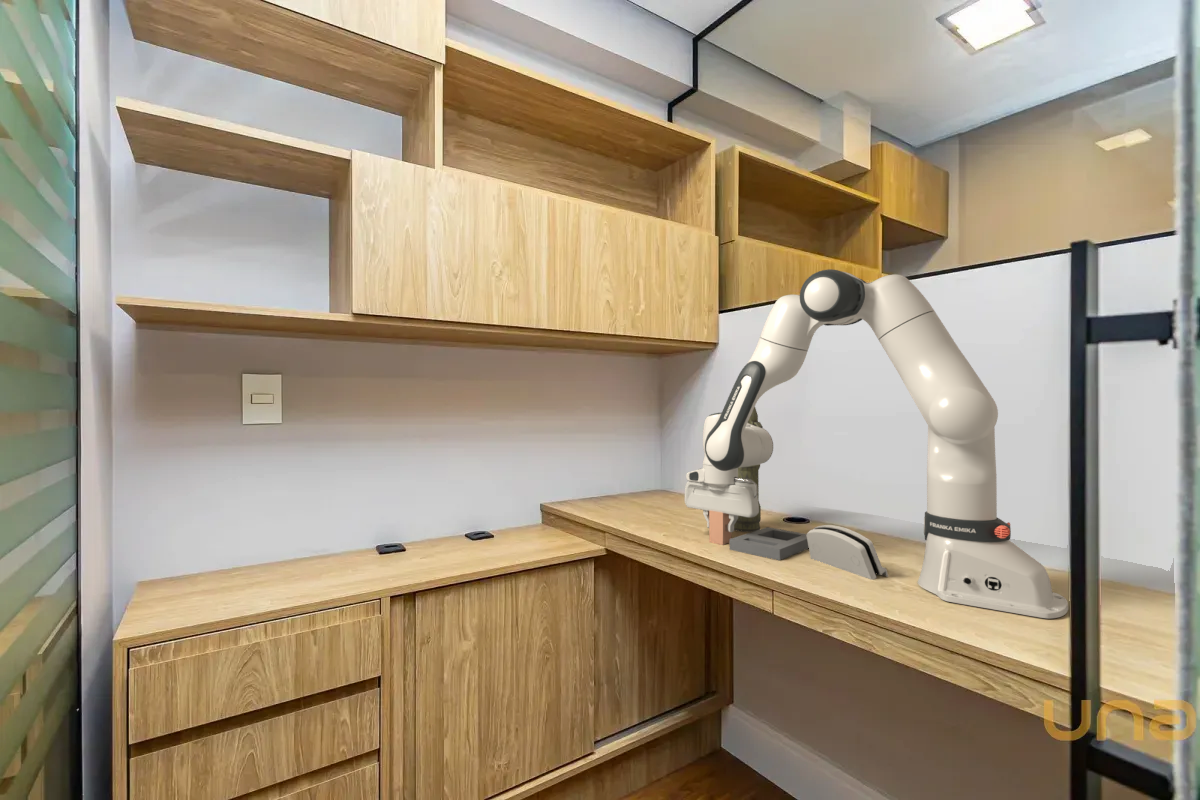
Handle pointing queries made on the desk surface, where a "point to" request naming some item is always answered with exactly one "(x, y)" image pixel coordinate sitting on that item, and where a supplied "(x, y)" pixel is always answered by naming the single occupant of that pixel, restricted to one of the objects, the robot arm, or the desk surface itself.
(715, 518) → the square peg
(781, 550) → the socket block
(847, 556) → the grey arched slotted block
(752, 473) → the thermos
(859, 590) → the desk surface
